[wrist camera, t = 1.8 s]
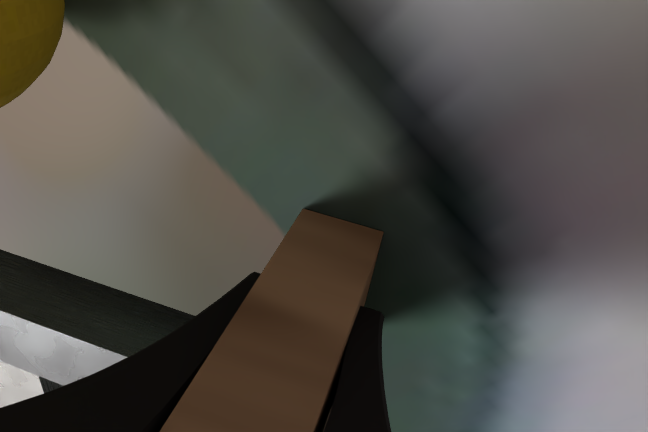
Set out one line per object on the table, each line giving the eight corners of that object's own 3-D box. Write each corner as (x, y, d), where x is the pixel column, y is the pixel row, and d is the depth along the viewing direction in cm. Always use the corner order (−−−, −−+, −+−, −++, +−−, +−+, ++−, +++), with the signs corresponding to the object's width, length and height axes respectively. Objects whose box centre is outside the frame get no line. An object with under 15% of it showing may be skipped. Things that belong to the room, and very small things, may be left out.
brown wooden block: (358, 329, 16) (262, 617, 10) (289, 306, 16) (152, 569, 10) (383, 231, 14) (280, 524, 7) (303, 208, 14) (136, 466, 8)
